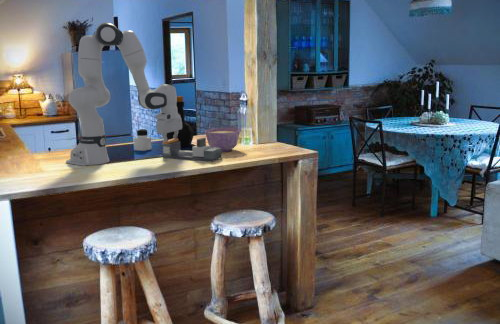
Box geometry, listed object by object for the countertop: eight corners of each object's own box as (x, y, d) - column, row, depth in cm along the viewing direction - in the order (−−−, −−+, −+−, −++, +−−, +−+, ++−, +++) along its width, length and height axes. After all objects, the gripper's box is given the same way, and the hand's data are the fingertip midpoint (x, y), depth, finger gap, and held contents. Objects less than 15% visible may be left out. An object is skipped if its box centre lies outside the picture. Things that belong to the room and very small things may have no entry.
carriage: (192, 156, 259) (192, 139, 257) (199, 153, 265) (198, 137, 263) (204, 157, 256) (203, 139, 254) (210, 154, 262) (210, 137, 260)
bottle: (182, 148, 290) (180, 97, 284) (161, 146, 299) (159, 96, 293) (199, 144, 303) (197, 95, 297) (178, 142, 312) (176, 95, 306)
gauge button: (162, 143, 262) (162, 141, 262) (173, 140, 272) (173, 138, 272) (167, 144, 261) (167, 141, 261) (178, 140, 271) (178, 138, 271)
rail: (162, 157, 264) (161, 144, 263) (173, 154, 274) (172, 141, 272) (212, 161, 253) (211, 147, 251) (221, 157, 262) (220, 144, 260)
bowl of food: (247, 150, 281) (246, 130, 278) (216, 155, 270) (216, 134, 267) (228, 146, 297) (228, 127, 294) (199, 149, 286) (198, 130, 284)
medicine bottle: (151, 149, 291) (150, 129, 288) (143, 151, 285) (142, 130, 282) (143, 148, 294) (141, 128, 292) (134, 150, 289) (133, 129, 286)
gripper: (174, 112, 274) (175, 136, 277) (153, 116, 256) (155, 142, 259) (184, 112, 272) (185, 137, 275) (164, 116, 253) (165, 143, 256)
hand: (170, 140), depth 266 cm, fingers open, 8 cm apart
